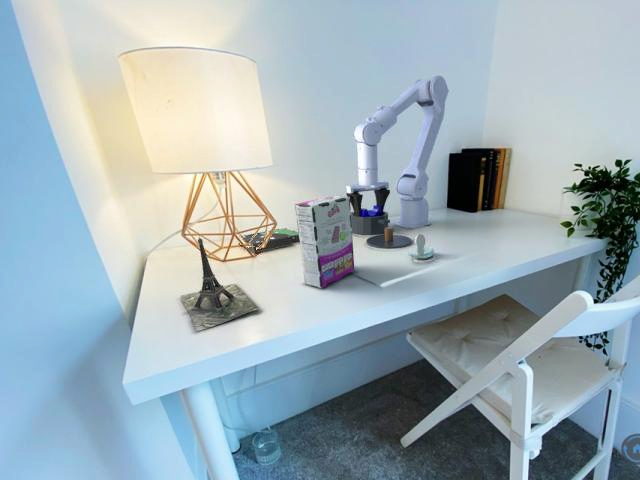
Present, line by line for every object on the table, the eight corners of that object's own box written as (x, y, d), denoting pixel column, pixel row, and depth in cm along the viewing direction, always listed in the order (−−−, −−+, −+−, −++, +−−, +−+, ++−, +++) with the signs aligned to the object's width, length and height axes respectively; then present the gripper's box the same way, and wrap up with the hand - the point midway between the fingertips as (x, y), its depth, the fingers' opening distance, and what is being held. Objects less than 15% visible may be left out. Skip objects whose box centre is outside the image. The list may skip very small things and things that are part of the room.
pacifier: (442, 260, 82) (424, 254, 86) (444, 235, 80) (425, 230, 84) (420, 267, 78) (403, 260, 82) (422, 241, 75) (403, 235, 80)
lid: (391, 235, 103) (391, 220, 101) (420, 244, 94) (421, 228, 93) (357, 243, 96) (356, 227, 94) (386, 253, 87) (386, 236, 85)
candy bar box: (337, 268, 78) (332, 194, 71) (355, 272, 75) (351, 196, 69) (302, 284, 69) (293, 202, 62) (321, 289, 67) (313, 205, 60)
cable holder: (373, 216, 110) (373, 204, 108) (381, 218, 108) (381, 205, 106) (355, 221, 104) (355, 208, 102) (364, 223, 102) (363, 209, 100)
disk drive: (254, 254, 88) (304, 242, 97) (252, 244, 87) (302, 232, 96) (238, 246, 95) (285, 235, 104) (236, 236, 94) (284, 226, 103)
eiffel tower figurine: (261, 312, 58) (248, 236, 53) (197, 331, 52) (174, 248, 47) (234, 285, 69) (221, 220, 64) (178, 299, 63) (158, 228, 58)
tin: (367, 224, 117) (367, 207, 114) (401, 234, 105) (401, 215, 102) (339, 230, 110) (338, 212, 108) (371, 241, 98) (371, 220, 96)
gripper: (355, 171, 93) (357, 220, 98) (395, 167, 101) (395, 213, 107) (341, 169, 98) (344, 216, 103) (380, 166, 106) (381, 210, 112)
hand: (369, 214), depth 105 cm, fingers closed on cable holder, 7 cm apart
